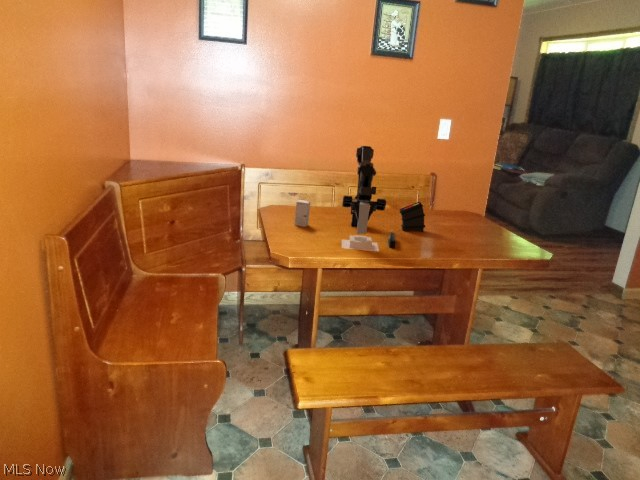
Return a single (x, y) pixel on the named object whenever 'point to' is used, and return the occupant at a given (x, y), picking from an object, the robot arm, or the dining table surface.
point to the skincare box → (302, 213)
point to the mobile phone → (392, 240)
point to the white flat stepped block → (360, 243)
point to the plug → (363, 218)
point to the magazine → (413, 217)
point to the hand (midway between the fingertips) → (363, 219)
